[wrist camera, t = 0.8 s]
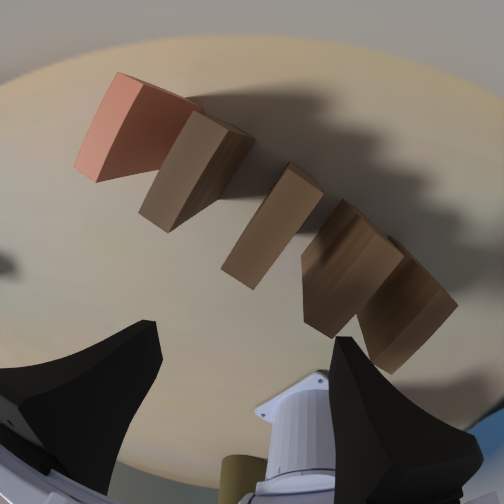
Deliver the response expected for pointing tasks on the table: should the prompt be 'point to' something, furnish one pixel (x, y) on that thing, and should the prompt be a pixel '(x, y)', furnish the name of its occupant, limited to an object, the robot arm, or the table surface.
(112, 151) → the tile
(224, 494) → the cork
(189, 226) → the table surface
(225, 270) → the tile
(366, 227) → the tile
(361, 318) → the tile
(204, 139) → the tile
